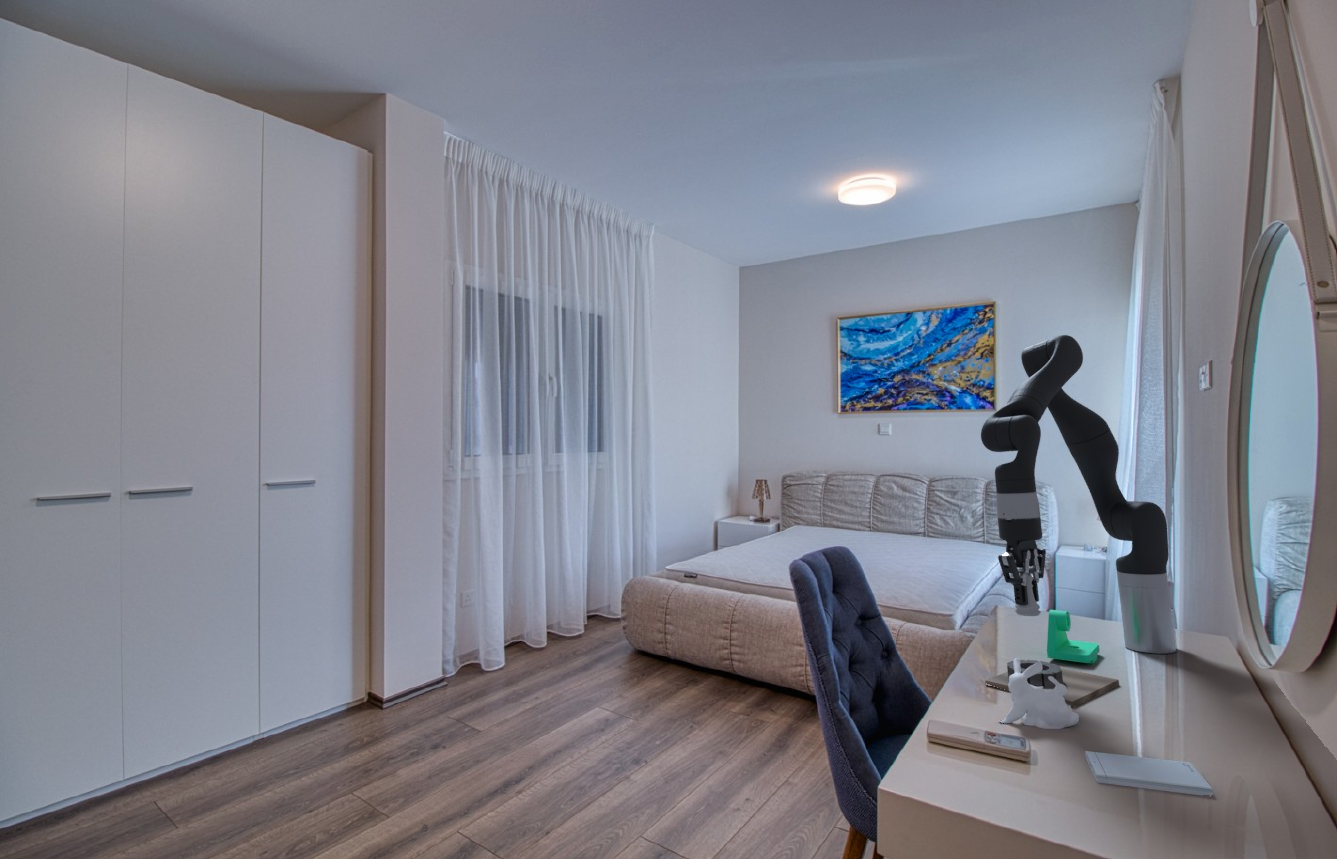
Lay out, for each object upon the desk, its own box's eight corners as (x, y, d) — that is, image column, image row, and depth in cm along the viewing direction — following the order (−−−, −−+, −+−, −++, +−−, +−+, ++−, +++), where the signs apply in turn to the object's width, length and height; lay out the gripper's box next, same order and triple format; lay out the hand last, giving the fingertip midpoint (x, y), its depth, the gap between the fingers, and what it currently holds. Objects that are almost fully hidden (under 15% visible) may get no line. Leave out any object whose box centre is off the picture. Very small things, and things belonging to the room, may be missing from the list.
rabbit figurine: (996, 723, 105) (991, 664, 106) (997, 708, 111) (993, 653, 112) (1081, 735, 99) (1075, 672, 100) (1077, 718, 106) (1072, 659, 106)
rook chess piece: (1038, 611, 125) (1034, 571, 125) (1043, 616, 120) (1039, 574, 121) (1013, 611, 126) (1009, 571, 127) (1017, 616, 122) (1013, 574, 123)
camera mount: (1089, 668, 130) (1084, 618, 131) (1048, 662, 136) (1043, 614, 137) (1101, 655, 139) (1095, 608, 140) (1061, 650, 144) (1057, 605, 145)
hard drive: (1190, 760, 86) (1084, 748, 91) (1212, 788, 79) (1095, 773, 84) (1191, 773, 86) (1085, 760, 91) (1214, 801, 79) (1097, 785, 84)
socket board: (1033, 666, 133) (1031, 650, 133) (1119, 684, 119) (1117, 666, 120) (985, 685, 123) (984, 667, 123) (1073, 707, 110) (1071, 686, 110)
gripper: (1018, 512, 132) (1026, 595, 130) (980, 517, 124) (988, 605, 123) (1056, 513, 126) (1065, 600, 124) (1018, 518, 118) (1027, 611, 116)
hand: (1027, 602), depth 123 cm, fingers closed on rook chess piece, 3 cm apart
